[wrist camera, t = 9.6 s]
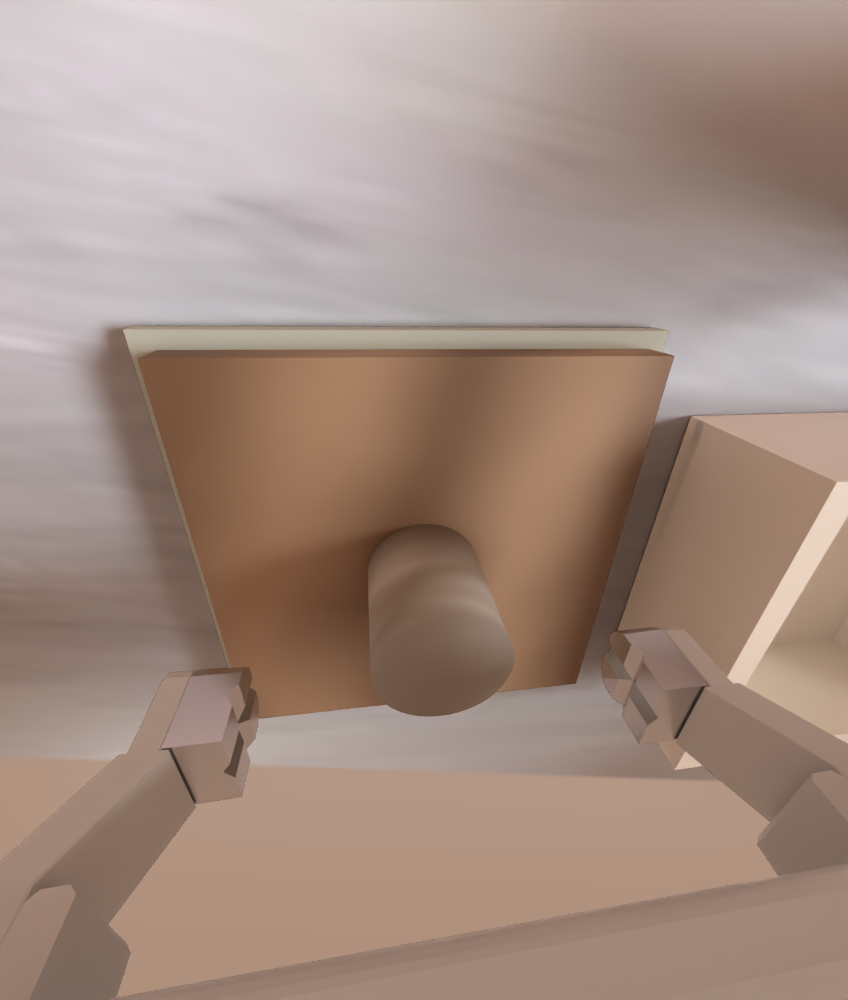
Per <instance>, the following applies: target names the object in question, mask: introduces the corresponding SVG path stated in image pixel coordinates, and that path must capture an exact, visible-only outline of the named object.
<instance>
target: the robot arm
mask: <svg viewBox="0 0 848 1000" xmlns="http://www.w3.org/2000/svg"><path fill="white" fill-rule="evenodd" d="M608 643H609V644H610V646H611V647H612V649H611V650H610V651H609V652H608V653H607V654H606V655H604V658H603V661H602V665H601V669H602V678H603V681H604V683H605V686H606V688H607V690H608V692H609V694H610V695H611V697H612V698H613V699H614V700H616V701H617V702H619V703H620V704H621V705H623V713H622V716H623V718H624V719H625V721H626V723H627V725H628V726H629V728H630V730H631V731H632V733H633V735H634V736H635V738H636V740H637V741H638V743H639V744H647V743H657V742H667V741H676V742H675V743H676V744H677V745H679V746H680V747H681V748H682V749H683V750H684V751H686V752H687V753H688V754H689V755H690V756H692V757H693V758H694V759H695V760H696V761H698V762H699V763H700V764H701V765H702V766H704V767H705V768H706V769H707V770H708V771H710V772H711V773H712V774H713V775H714V776H716V777H717V778H718V779H719V780H720V781H722V782H723V783H724V784H725V785H726V786H728V787H729V788H730V789H731V790H732V791H734V792H735V793H736V794H737V795H738V796H740V797H741V798H742V799H743V800H744V801H746V802H747V803H748V804H749V805H750V806H752V807H753V808H754V809H755V810H756V811H758V812H759V813H760V814H761V815H762V816H764V817H765V818H766V819H767V820H768V821H770V823H769V825H768V826H767V827H766V828H765V829H764V830H763V832H762V833H761V834H760V835H759V836H758V843H757V845H758V847H759V848H760V850H761V851H762V853H763V854H764V856H765V857H766V859H767V860H768V861H769V863H770V864H771V866H772V867H773V869H774V870H775V872H776V873H777V875H778V876H775V877H770V878H764V879H759V880H753V881H748V882H743V883H737V884H732V885H726V886H721V887H716V888H710V889H704V890H699V891H694V892H688V893H683V894H677V895H672V896H666V897H661V898H656V899H650V900H645V901H639V902H634V903H628V904H623V905H617V906H612V907H606V908H601V909H596V910H590V911H585V912H579V913H574V914H568V915H563V916H558V917H552V918H547V919H541V920H536V921H530V922H525V923H520V924H514V925H508V926H503V927H498V928H493V929H487V930H481V931H476V932H470V933H465V934H459V935H454V936H449V937H444V938H438V939H432V940H427V941H421V942H416V943H410V944H405V945H400V946H394V947H389V948H383V949H378V950H372V951H367V952H361V953H356V954H351V955H345V956H340V957H334V958H329V959H324V960H319V961H312V962H307V963H302V964H296V965H291V966H286V967H280V968H274V969H269V970H264V971H258V972H253V973H247V974H242V975H237V976H231V977H225V978H220V979H215V980H209V981H204V982H198V983H193V984H187V985H182V986H177V987H171V988H166V989H161V990H155V991H149V992H144V993H139V994H133V995H128V996H122V997H117V994H118V991H119V988H120V984H121V981H122V978H123V975H124V972H125V969H126V966H127V962H128V959H129V956H130V950H129V948H128V946H127V944H126V942H125V941H124V940H123V939H122V938H121V937H120V936H119V935H118V934H117V933H116V932H115V931H114V930H113V929H112V928H111V927H110V926H109V925H108V924H109V923H110V921H111V920H112V919H113V917H114V916H115V914H116V913H117V912H118V911H119V909H120V908H121V907H122V905H123V904H124V903H125V901H126V900H127V898H128V897H129V896H130V894H131V893H132V892H133V891H134V889H135V888H136V887H137V885H138V884H139V882H140V881H141V880H142V879H143V877H144V876H145V875H146V873H147V872H148V870H149V869H150V868H151V867H152V865H153V864H154V863H155V861H156V860H157V859H158V857H159V856H160V854H161V853H162V852H163V850H164V849H165V848H166V846H167V845H168V844H169V842H170V841H171V840H172V838H173V837H174V836H175V834H176V833H177V832H178V830H179V829H180V828H181V826H182V825H183V824H184V822H185V821H186V820H187V818H188V817H189V816H190V814H191V813H192V812H193V810H194V809H195V807H196V806H195V804H200V803H206V802H212V801H219V800H225V799H231V798H237V797H242V795H243V791H244V786H245V782H246V777H247V773H248V769H249V764H250V759H249V756H248V752H247V748H248V746H249V745H250V744H251V743H252V742H253V741H254V740H255V737H256V732H257V727H258V718H259V702H258V696H257V692H256V691H255V690H253V689H252V688H250V685H251V681H252V674H251V671H250V668H249V667H235V668H220V669H206V670H194V671H181V672H170V673H169V674H168V675H167V676H166V677H165V678H164V679H163V680H162V683H161V685H160V687H159V689H158V691H157V693H156V695H155V697H154V699H153V701H152V703H151V705H150V708H149V710H148V712H147V714H146V716H145V718H144V720H143V722H142V724H141V726H140V728H139V730H138V732H137V735H136V737H135V739H134V741H133V743H132V745H131V747H130V749H129V751H128V753H127V754H123V755H118V756H117V757H116V758H115V759H114V760H113V761H111V762H110V763H109V764H108V765H107V766H106V767H105V768H104V769H102V770H101V771H100V772H99V773H98V774H97V775H96V776H95V777H94V778H92V779H91V780H90V781H89V782H88V783H87V784H86V785H85V786H84V787H82V788H81V789H80V790H79V791H78V792H77V793H76V794H75V795H73V796H72V797H71V798H70V799H69V800H68V801H67V802H66V803H65V804H64V805H63V806H61V807H60V808H59V809H58V810H57V811H56V812H55V813H54V814H52V815H51V816H50V817H49V818H48V819H47V820H46V821H45V822H43V823H42V824H41V825H40V826H39V827H38V828H37V829H36V830H34V831H33V832H32V833H31V834H30V835H29V836H28V837H27V838H26V839H24V840H23V841H22V842H21V843H20V844H19V845H18V846H17V847H16V848H14V849H13V850H12V851H11V852H10V853H9V854H8V855H7V856H6V857H4V858H3V859H2V860H1V861H0V1000H848V743H846V742H844V741H842V740H840V739H839V738H837V737H835V736H833V735H831V734H830V733H828V732H826V731H824V730H822V729H821V728H819V727H817V726H815V725H814V724H812V723H810V722H808V721H806V720H805V719H803V718H801V717H799V716H797V715H796V714H794V713H792V712H790V711H788V710H787V709H785V708H783V707H781V706H780V705H778V704H776V703H774V702H772V701H771V700H769V699H767V698H765V697H763V696H762V695H760V694H758V693H756V692H754V691H753V690H751V689H749V688H747V687H745V686H744V685H742V684H740V683H734V684H733V683H732V682H731V681H730V680H729V679H728V677H727V676H726V675H725V674H724V673H723V672H722V671H721V670H720V669H719V667H718V666H717V665H716V664H715V663H714V662H713V661H712V660H711V659H710V657H709V656H708V655H707V654H706V653H705V652H704V651H703V650H702V649H701V647H700V646H699V645H698V644H697V643H696V642H695V641H694V640H693V639H692V637H691V636H690V635H689V634H688V633H687V632H686V631H685V630H684V629H683V628H681V627H680V626H678V625H671V626H661V627H647V628H638V629H629V630H620V631H615V632H614V633H613V634H611V637H610V639H609V642H608ZM116 997H117V998H116Z"/></svg>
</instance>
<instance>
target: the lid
mask: <svg viewBox="0 0 848 1000" xmlns="http://www.w3.org/2000/svg"><path fill="white" fill-rule="evenodd" d="M673 359H674V356H672V355H669V354H666V353H662V352H659V351H655V350H652V349H378V350H156V351H154V352H152V353H149V354H147V355H144V356H142V357H140V358H137V360H138V363H139V366H140V370H141V373H142V376H143V380H144V383H145V386H146V389H147V393H148V396H149V399H150V403H151V406H152V409H153V412H154V416H155V419H156V422H157V426H158V429H159V432H160V435H161V439H162V442H163V445H164V449H165V452H166V455H167V458H168V462H169V465H170V468H171V472H172V475H173V478H174V481H175V485H176V488H177V491H178V495H179V498H180V501H181V504H182V508H183V511H184V514H185V518H186V521H187V524H188V527H189V531H190V534H191V537H192V541H193V544H194V547H195V550H196V554H197V557H198V560H199V564H200V567H201V570H202V573H203V577H204V580H205V583H206V587H207V590H208V593H209V596H210V600H211V603H212V606H213V609H214V613H215V616H216V619H217V623H218V626H219V629H220V632H221V636H222V639H223V642H224V646H225V649H226V652H227V655H228V659H229V662H230V665H231V668H235V667H249V668H250V671H251V674H252V681H251V685H250V688H252V689H253V690H255V691H256V692H257V696H258V702H259V718H258V719H260V718H269V717H278V716H287V715H296V714H305V713H314V712H323V711H332V710H341V709H350V708H359V707H368V706H377V705H386V704H387V705H388V706H390V707H391V708H393V709H395V710H398V711H400V712H403V713H406V714H411V715H417V716H442V715H448V714H453V713H457V712H460V711H463V710H466V709H469V708H471V707H474V706H476V705H478V704H480V703H482V702H483V701H485V700H486V699H488V698H489V697H491V696H492V695H493V694H494V693H496V692H504V691H513V690H522V689H531V688H540V687H549V686H558V685H567V684H576V681H577V678H578V674H579V671H580V668H581V664H582V661H583V658H584V654H585V651H586V648H587V644H588V641H589V638H590V634H591V631H592V628H593V624H594V621H595V618H596V614H597V611H598V608H599V604H600V601H601V598H602V594H603V591H604V588H605V585H606V581H607V578H608V575H609V571H610V568H611V565H612V561H613V558H614V555H615V551H616V548H617V545H618V541H619V538H620V535H621V531H622V528H623V525H624V521H625V518H626V515H627V511H628V508H629V505H630V501H631V498H632V495H633V491H634V488H635V485H636V481H637V478H638V475H639V472H640V468H641V465H642V462H643V458H644V455H645V452H646V448H647V445H648V442H649V438H650V435H651V432H652V428H653V425H654V422H655V418H656V415H657V412H658V408H659V405H660V402H661V398H662V395H663V392H664V388H665V385H666V382H667V378H668V375H669V372H670V369H671V365H672V362H673Z"/></svg>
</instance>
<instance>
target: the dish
mask: <svg viewBox="0 0 848 1000" xmlns="http://www.w3.org/2000/svg"><path fill="white" fill-rule="evenodd" d="M671 625H678V626H680V627H681V628H683V629H684V630H685V631H686V632H687V633H688V634H689V635H690V636H691V637H692V639H693V640H694V641H695V642H696V643H697V644H698V645H699V646H700V647H701V649H702V650H703V651H704V652H705V653H706V654H707V655H708V656H709V657H710V659H711V660H712V661H713V662H714V663H715V664H716V665H717V666H718V667H719V669H720V670H721V671H722V672H723V673H724V674H725V675H726V676H727V677H728V679H729V680H730V681H731V682H732V683H733V684H734V683H740V684H742V685H744V686H745V687H747V688H749V689H751V690H753V691H754V692H756V693H758V694H760V695H762V696H763V697H765V698H767V699H769V700H771V701H772V702H774V703H776V704H778V705H780V706H781V707H783V708H785V709H787V710H788V711H790V712H792V713H794V714H796V715H797V716H799V717H801V718H803V719H805V720H806V721H808V722H810V723H812V724H814V725H815V726H817V727H819V728H821V729H822V730H824V731H826V732H828V733H830V734H831V735H833V736H835V737H837V738H839V739H840V740H842V741H844V742H846V743H848V412H828V413H789V414H750V415H711V416H691V418H690V420H689V423H688V426H687V429H686V432H685V435H684V438H683V441H682V444H681V447H680V450H679V453H678V455H677V458H676V461H675V464H674V467H673V470H672V473H671V476H670V479H669V482H668V485H667V488H666V491H665V493H664V496H663V499H662V502H661V505H660V508H659V511H658V514H657V517H656V520H655V523H654V526H653V528H652V531H651V534H650V537H649V540H648V543H647V546H646V549H645V552H644V555H643V558H642V561H641V564H640V566H639V569H638V572H637V575H636V578H635V581H634V584H633V587H632V590H631V593H630V596H629V599H628V602H627V604H626V607H625V610H624V613H623V616H622V619H621V622H620V625H619V628H618V631H620V630H629V629H638V628H647V627H661V626H671ZM611 649H612V648H611ZM675 742H676V741H667V742H657V743H658V744H659V746H660V748H661V749H662V751H663V752H664V754H665V756H666V757H667V759H668V760H669V762H670V764H671V765H672V767H673V768H674V770H679V769H686V768H693V767H700V766H702V765H701V764H700V763H699V762H698V761H696V760H695V759H694V758H693V757H692V756H690V755H689V754H688V753H687V752H686V751H684V750H683V749H682V748H681V747H680V746H679V745H677V744H676V743H675Z"/></svg>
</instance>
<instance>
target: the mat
mask: <svg viewBox="0 0 848 1000" xmlns="http://www.w3.org/2000/svg"><path fill="white" fill-rule="evenodd" d="M123 332H124V335H125V338H126V341H127V345H128V348H129V351H130V354H131V358H132V361H133V364H134V367H135V370H136V374H137V377H138V380H139V383H140V386H141V390H142V393H143V396H144V399H145V403H146V406H147V409H148V412H149V415H150V419H151V422H152V425H153V428H154V432H155V435H156V438H157V441H158V444H159V448H160V451H161V454H162V457H163V460H164V464H165V467H166V470H167V473H168V477H169V480H170V483H171V486H172V489H173V493H174V496H175V499H176V502H177V505H178V509H179V512H180V515H181V518H182V522H183V525H184V528H185V531H186V534H187V538H188V541H189V544H190V547H191V550H192V554H193V557H194V560H195V563H196V567H197V570H198V573H199V576H200V579H201V583H202V586H203V589H204V592H205V595H206V599H207V602H208V605H209V608H210V612H211V615H212V618H213V621H214V624H215V628H216V631H217V634H218V637H219V640H220V644H221V647H222V650H223V653H224V657H225V660H226V663H227V666H228V668H231V665H230V662H229V659H228V655H227V652H226V649H225V646H224V642H223V639H222V636H221V632H220V629H219V626H218V623H217V619H216V616H215V613H214V609H213V606H212V603H211V600H210V596H209V593H208V590H207V587H206V583H205V580H204V577H203V573H202V570H201V567H200V564H199V560H198V557H197V554H196V550H195V547H194V544H193V541H192V537H191V534H190V531H189V527H188V524H187V521H186V518H185V514H184V511H183V508H182V504H181V501H180V498H179V495H178V491H177V488H176V485H175V481H174V478H173V475H172V472H171V468H170V465H169V462H168V458H167V455H166V452H165V449H164V445H163V442H162V439H161V435H160V432H159V429H158V426H157V422H156V419H155V416H154V412H153V409H152V406H151V403H150V399H149V396H148V393H147V389H146V386H145V383H144V380H143V376H142V373H141V370H140V366H139V363H138V360H137V358H140V357H142V356H144V355H147V354H149V353H152V352H154V351H156V350H378V349H652V350H655V351H659V352H662V353H663V349H664V346H665V342H666V339H667V335H668V332H669V331H667V330H662V329H657V328H555V327H300V326H133V327H129V328H126V329H123Z"/></svg>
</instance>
